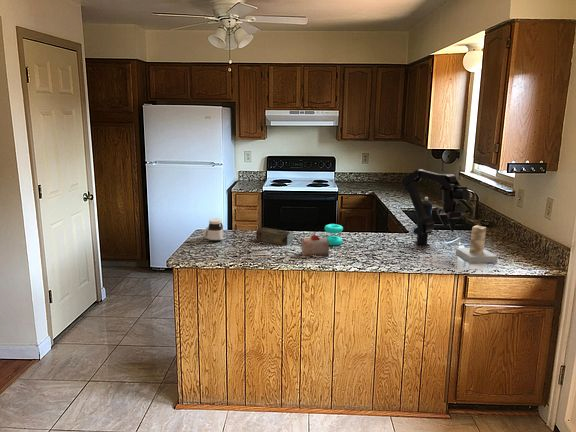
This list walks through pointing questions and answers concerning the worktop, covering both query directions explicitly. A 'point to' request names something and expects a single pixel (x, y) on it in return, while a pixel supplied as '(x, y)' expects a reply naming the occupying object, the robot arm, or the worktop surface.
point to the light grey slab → (476, 256)
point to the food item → (315, 246)
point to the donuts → (334, 229)
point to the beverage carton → (274, 236)
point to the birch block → (477, 239)
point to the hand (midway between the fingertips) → (448, 229)
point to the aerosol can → (427, 207)
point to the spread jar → (214, 230)
